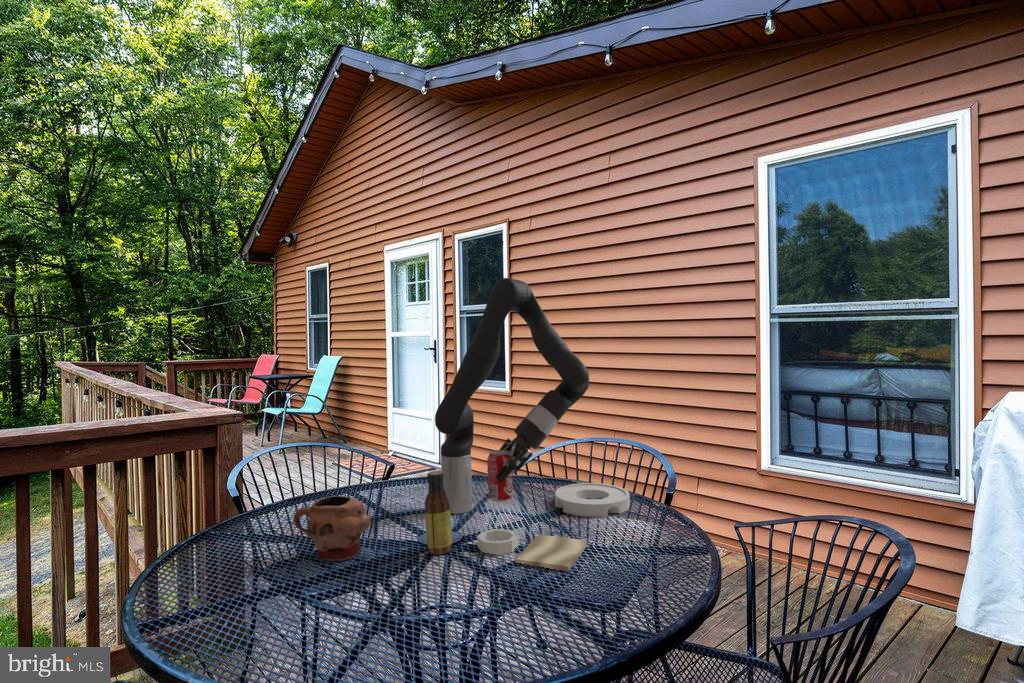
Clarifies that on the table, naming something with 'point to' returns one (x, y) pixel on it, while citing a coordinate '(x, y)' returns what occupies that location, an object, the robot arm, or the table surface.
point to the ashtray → (577, 504)
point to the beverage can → (496, 488)
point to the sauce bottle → (437, 516)
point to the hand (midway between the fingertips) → (494, 477)
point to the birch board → (552, 552)
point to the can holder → (499, 548)
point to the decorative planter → (335, 526)
